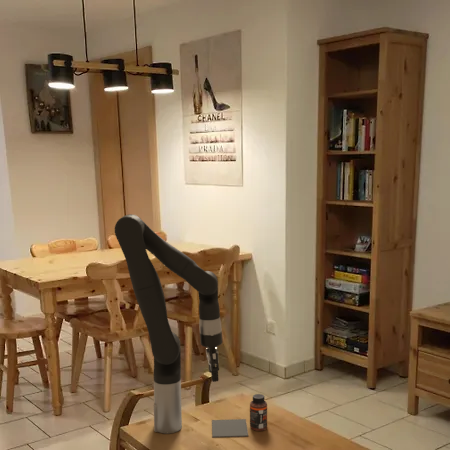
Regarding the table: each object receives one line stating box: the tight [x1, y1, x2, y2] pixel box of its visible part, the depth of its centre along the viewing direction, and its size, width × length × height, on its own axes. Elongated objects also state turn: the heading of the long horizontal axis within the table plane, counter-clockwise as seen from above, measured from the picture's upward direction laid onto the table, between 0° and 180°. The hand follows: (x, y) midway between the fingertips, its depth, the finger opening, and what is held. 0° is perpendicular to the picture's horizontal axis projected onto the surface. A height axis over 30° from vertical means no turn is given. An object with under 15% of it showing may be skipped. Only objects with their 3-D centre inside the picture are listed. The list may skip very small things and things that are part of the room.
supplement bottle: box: [249, 393, 268, 432], centre depth 192 cm, size 6×6×11 cm
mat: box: [211, 418, 249, 439], centre depth 192 cm, size 12×12×1 cm
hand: (213, 376), depth 192 cm, fingers open, 8 cm apart
